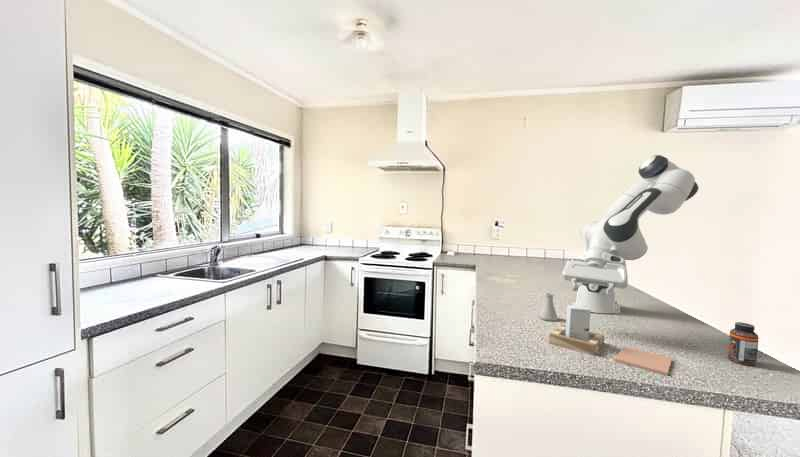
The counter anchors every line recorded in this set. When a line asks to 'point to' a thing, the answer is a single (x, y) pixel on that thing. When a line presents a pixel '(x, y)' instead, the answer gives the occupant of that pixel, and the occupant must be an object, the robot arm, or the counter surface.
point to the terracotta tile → (644, 360)
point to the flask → (548, 309)
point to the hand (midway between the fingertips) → (589, 292)
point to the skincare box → (578, 322)
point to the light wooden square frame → (577, 341)
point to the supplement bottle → (743, 344)
